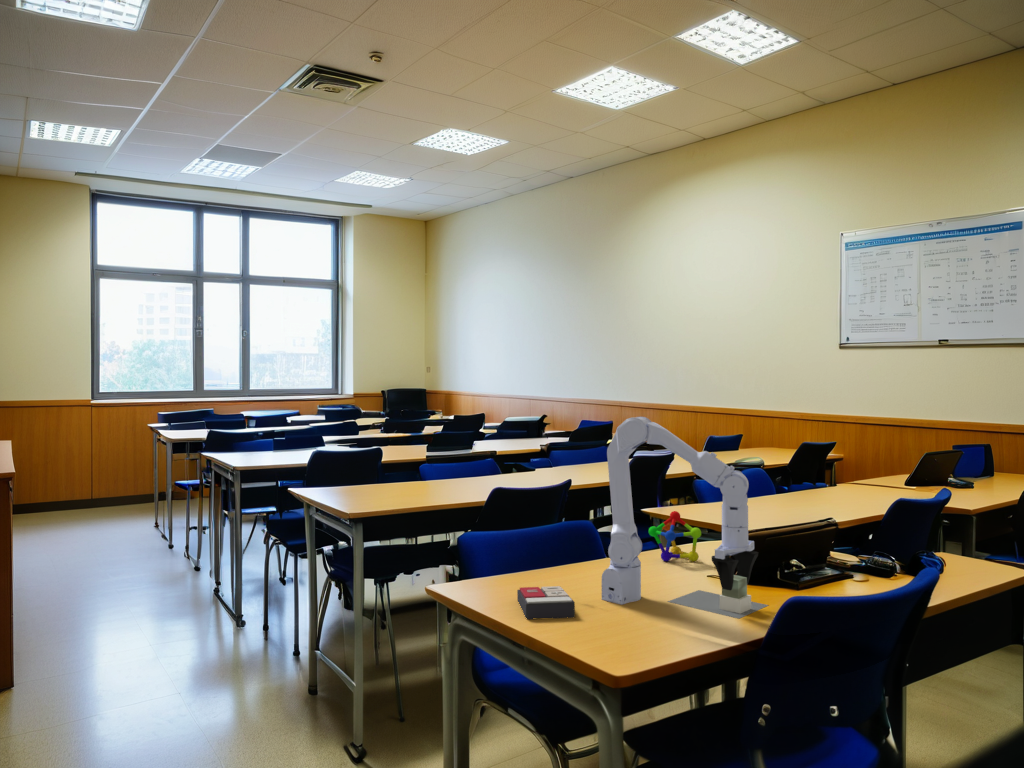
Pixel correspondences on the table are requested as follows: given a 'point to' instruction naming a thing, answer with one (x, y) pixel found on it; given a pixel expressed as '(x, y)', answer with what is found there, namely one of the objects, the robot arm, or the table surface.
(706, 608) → the base mat
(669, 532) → the educational toy
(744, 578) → the green cube
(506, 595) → the table surface
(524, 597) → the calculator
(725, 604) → the base brick
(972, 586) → the table surface
